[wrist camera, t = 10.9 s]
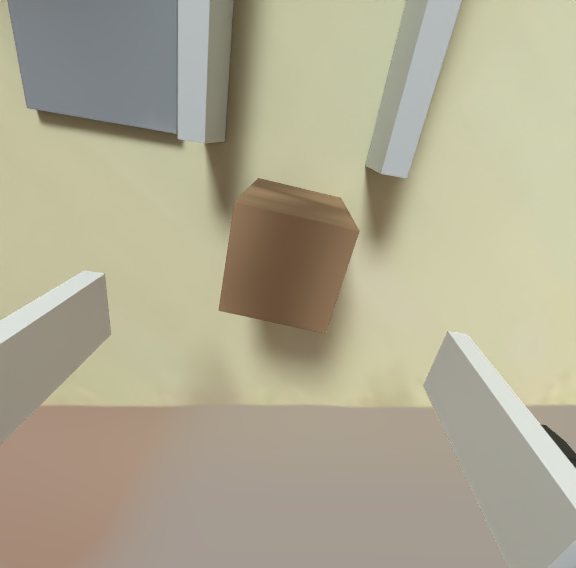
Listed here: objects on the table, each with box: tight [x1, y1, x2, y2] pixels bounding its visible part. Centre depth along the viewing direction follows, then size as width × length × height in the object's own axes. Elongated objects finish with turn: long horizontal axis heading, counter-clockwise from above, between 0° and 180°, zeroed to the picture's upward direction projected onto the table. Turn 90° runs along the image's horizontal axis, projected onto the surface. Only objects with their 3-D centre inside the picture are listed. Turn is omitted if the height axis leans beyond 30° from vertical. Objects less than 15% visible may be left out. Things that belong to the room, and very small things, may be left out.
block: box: [219, 178, 359, 333], centre depth 16 cm, size 5×5×7 cm
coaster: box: [7, 0, 178, 134], centre depth 15 cm, size 8×8×1 cm
